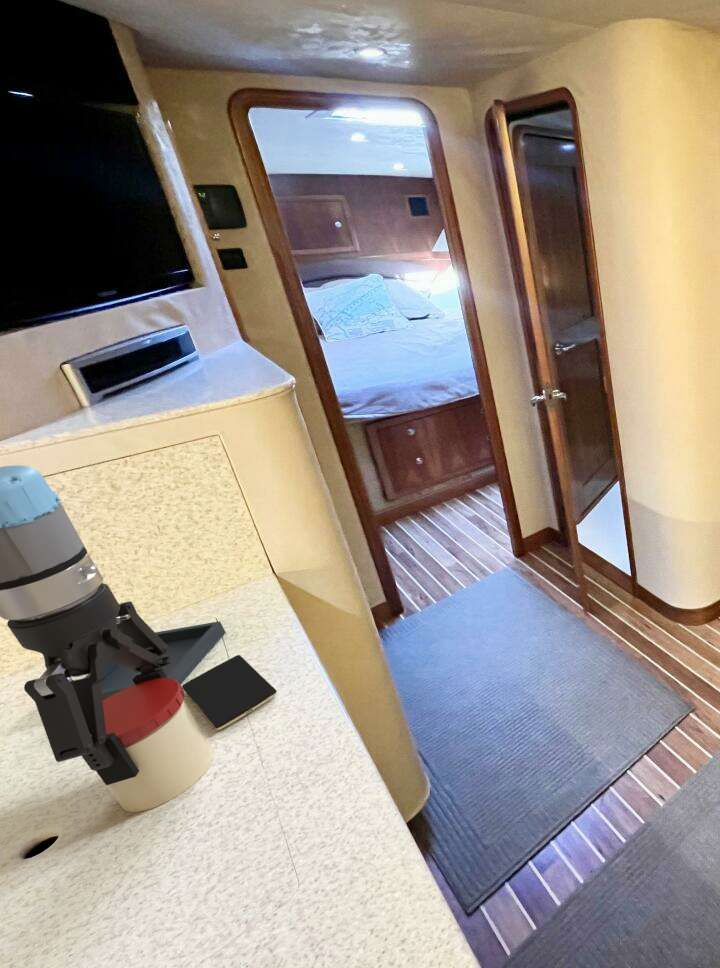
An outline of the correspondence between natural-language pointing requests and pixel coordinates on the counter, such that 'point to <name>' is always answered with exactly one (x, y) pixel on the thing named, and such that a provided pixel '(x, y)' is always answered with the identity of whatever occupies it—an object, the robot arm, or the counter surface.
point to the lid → (141, 708)
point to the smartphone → (229, 691)
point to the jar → (165, 763)
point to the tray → (183, 652)
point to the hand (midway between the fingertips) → (147, 742)
